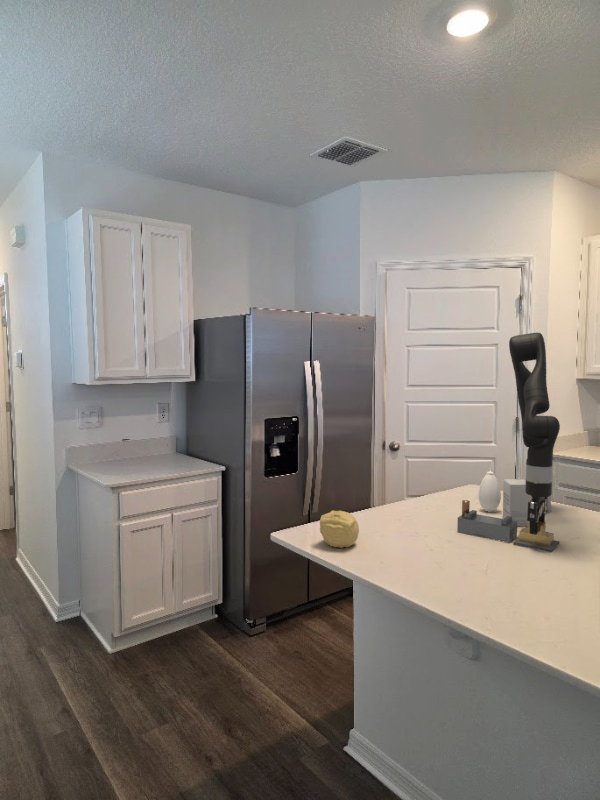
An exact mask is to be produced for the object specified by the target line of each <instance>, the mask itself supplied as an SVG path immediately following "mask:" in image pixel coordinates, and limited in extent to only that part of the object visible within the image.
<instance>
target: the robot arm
mask: <svg viewBox="0 0 600 800" xmlns="http://www.w3.org/2000/svg"><path fill="white" fill-rule="evenodd" d="M508 343H509V344H508V347H509V348H508V349H509V354H510V358H511V363H512V366H513V370H514V377H515V385H516V394H517V400H518V405H519V406H518V407H519V411H520V415H521V416H520V417H521V432H522V434H521V435H522V440H523V444H524V446H525V447H526V448H527V454H526V457H527V458H526V461H525V462H526V463H525V464H526V466H525V480H526V486H525V492H526V494H528V495H531V496H532V500H530V501H529V502H528V515H527V521H529V522H530V530H529V532H530V534H534V535H536V534H537V533H538V521H542V522H546V516H547V514H548V513H551V511H552V510H551V508H552V494H553V492H552V491H553V459H554V457H553V455H554V448H555V444H556V441H557V439H558V436H559V433H560V430H561V429H560V428H561V424H560V421H559V420H558V418H557V417H556V416H552V415H542V414H544V413H546V412H547V411H548V410H549V409H550V399H549V393H548V387H547V354H546V353H547V352H546V351H547V350H546V343H545V339H544V337H543V334H542V333H541V332H530V333H525V334H524V333H523V334H517V335H513V336H511V337H510V338H509V342H508ZM531 361H535V363H534V364H535V365H534V367H533V369H532V371H530V370H529V369H528V368H527V366H526V365H525V363H524V362H531ZM540 414H541V415H540ZM533 515H534V518H532V516H533Z"/></svg>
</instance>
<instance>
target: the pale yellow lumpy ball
mask: <svg viewBox="0 0 600 800" xmlns="http://www.w3.org/2000/svg"><path fill="white" fill-rule="evenodd" d="M319 533H320V534H321V536H322V538H323V540H324V542H325V543H326V544H327V545H328V546H329V545H330V546H329V547H332V546H333V547H332V548H336V547H342V548H341V549H344V548H343V547H346V548H349V547H351V546H353V545H354V544H355V543H356V542H357V540H358V537H359V533H360V528H359V524H358V521H357V519H356V518H355V516H353V514H351V513H349V512H346V511H343V510H331V511H330V512H327V513H324V514H322V515H321V516H320V520H319Z"/></svg>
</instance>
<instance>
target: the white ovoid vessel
mask: <svg viewBox="0 0 600 800" xmlns="http://www.w3.org/2000/svg"><path fill="white" fill-rule="evenodd" d="M501 498H502V493H501V487H500V483H499V480H498V478H497V477H496V475H495V472H493V471H492V465H491V464H490V465H489V471H486V474H485V475H484V476H483V478H482V480H481V481H480V485H479V487H478V501H479V504H480V507H481V508H483V509H484V511H485V512H487V511H488V512H487V513H492V512H495V510H497V509H498V508H499V506H500V503H501Z"/></svg>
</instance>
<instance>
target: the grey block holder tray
mask: <svg viewBox="0 0 600 800" xmlns="http://www.w3.org/2000/svg"><path fill="white" fill-rule="evenodd" d="M470 505H471V503H470V500H468V499H463V500H462V501H461V515H459V516H458V517H457V525H456V526H457V528H456V529H457V530H456V531H457V533H461V534H464V535H470V536H474V537H479V538H483V539H488V538H489V539H490V540H493V539H495V540H494V541H498V540H500V541H499V542H503V541H504V542H503V543H510V544H511V542H512V541H513V540H515V539H517V536H518V526H517V521H512V517H510V516H507V517H505V518H504V519H503V518H500V517H495V516H494V517H493V516H488V515H484V514H478V513H477V512H478V511H477V510H475V509H471V510H470ZM489 539H488V540H489Z"/></svg>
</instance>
